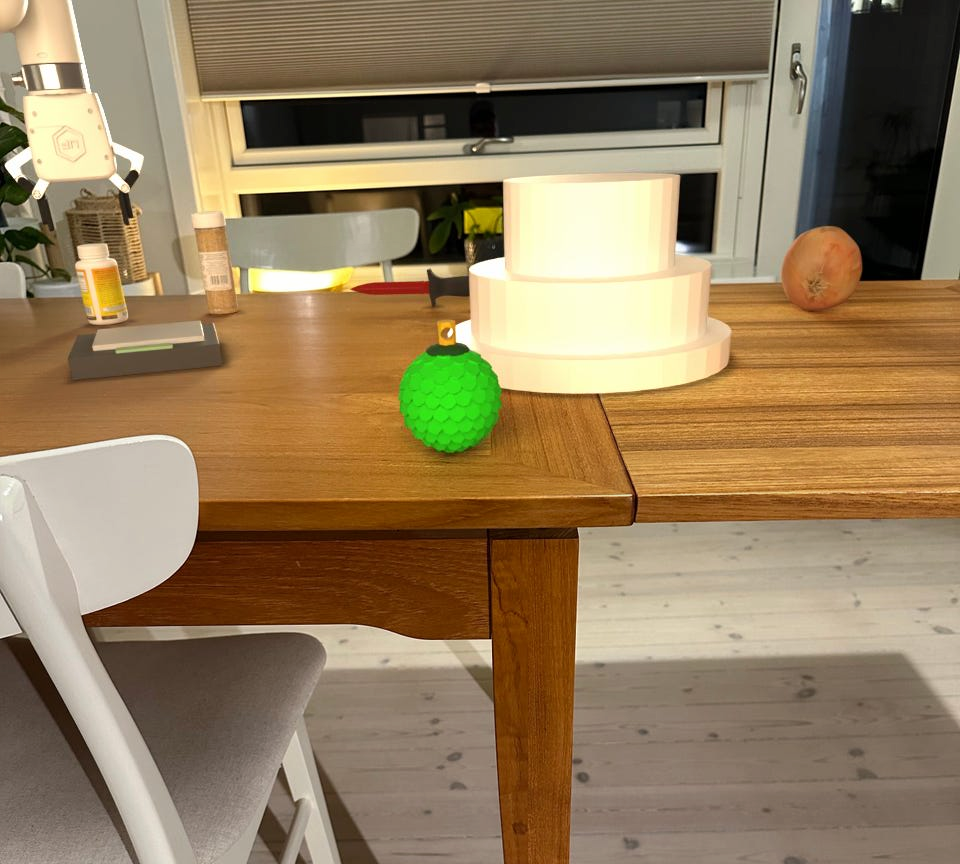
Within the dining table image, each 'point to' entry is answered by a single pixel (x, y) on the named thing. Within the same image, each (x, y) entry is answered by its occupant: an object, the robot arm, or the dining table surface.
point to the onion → (821, 268)
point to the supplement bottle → (100, 285)
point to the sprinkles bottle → (215, 261)
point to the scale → (144, 350)
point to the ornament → (450, 395)
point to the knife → (420, 287)
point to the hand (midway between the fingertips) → (90, 227)
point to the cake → (593, 289)
